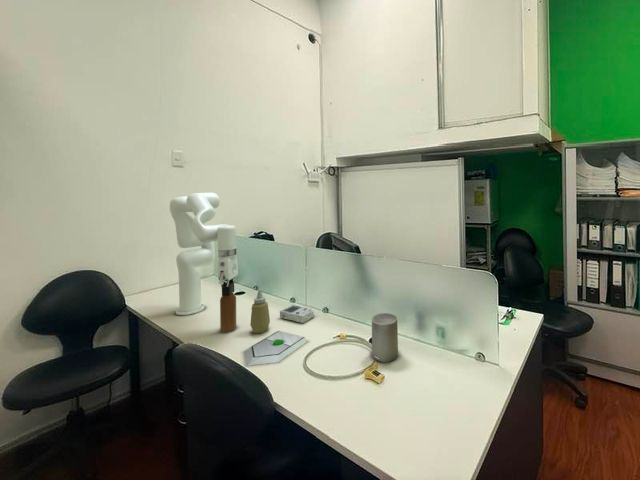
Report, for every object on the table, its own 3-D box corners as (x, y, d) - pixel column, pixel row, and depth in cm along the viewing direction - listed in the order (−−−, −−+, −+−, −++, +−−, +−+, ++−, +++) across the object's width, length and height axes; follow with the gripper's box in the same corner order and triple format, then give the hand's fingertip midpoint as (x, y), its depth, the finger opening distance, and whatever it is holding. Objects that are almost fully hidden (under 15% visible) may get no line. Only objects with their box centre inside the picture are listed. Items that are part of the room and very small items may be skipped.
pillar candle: (394, 346, 116) (394, 308, 116) (400, 361, 106) (399, 319, 106) (370, 349, 114) (369, 310, 114) (373, 364, 105) (373, 321, 104)
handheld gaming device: (302, 324, 137) (302, 315, 137) (279, 318, 144) (279, 310, 144) (315, 317, 145) (315, 309, 145) (292, 311, 152) (292, 304, 152)
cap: (221, 293, 131) (221, 285, 131) (225, 290, 135) (225, 282, 135) (230, 293, 131) (230, 285, 131) (234, 290, 135) (234, 282, 135)
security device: (230, 360, 108) (230, 354, 108) (276, 333, 129) (276, 328, 129) (264, 372, 101) (264, 366, 101) (307, 341, 121) (307, 336, 121)
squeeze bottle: (263, 335, 127) (262, 293, 127) (246, 334, 128) (245, 292, 128) (273, 327, 135) (273, 287, 134) (257, 325, 136) (257, 286, 136)
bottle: (222, 326, 135) (221, 283, 135) (237, 325, 137) (237, 282, 137) (218, 333, 129) (218, 288, 129) (234, 331, 131) (234, 286, 131)
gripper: (227, 256, 125) (228, 300, 125) (243, 249, 142) (244, 287, 142) (208, 257, 125) (209, 301, 125) (227, 249, 141) (228, 288, 141)
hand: (228, 293), depth 133 cm, fingers closed on cap, 3 cm apart
